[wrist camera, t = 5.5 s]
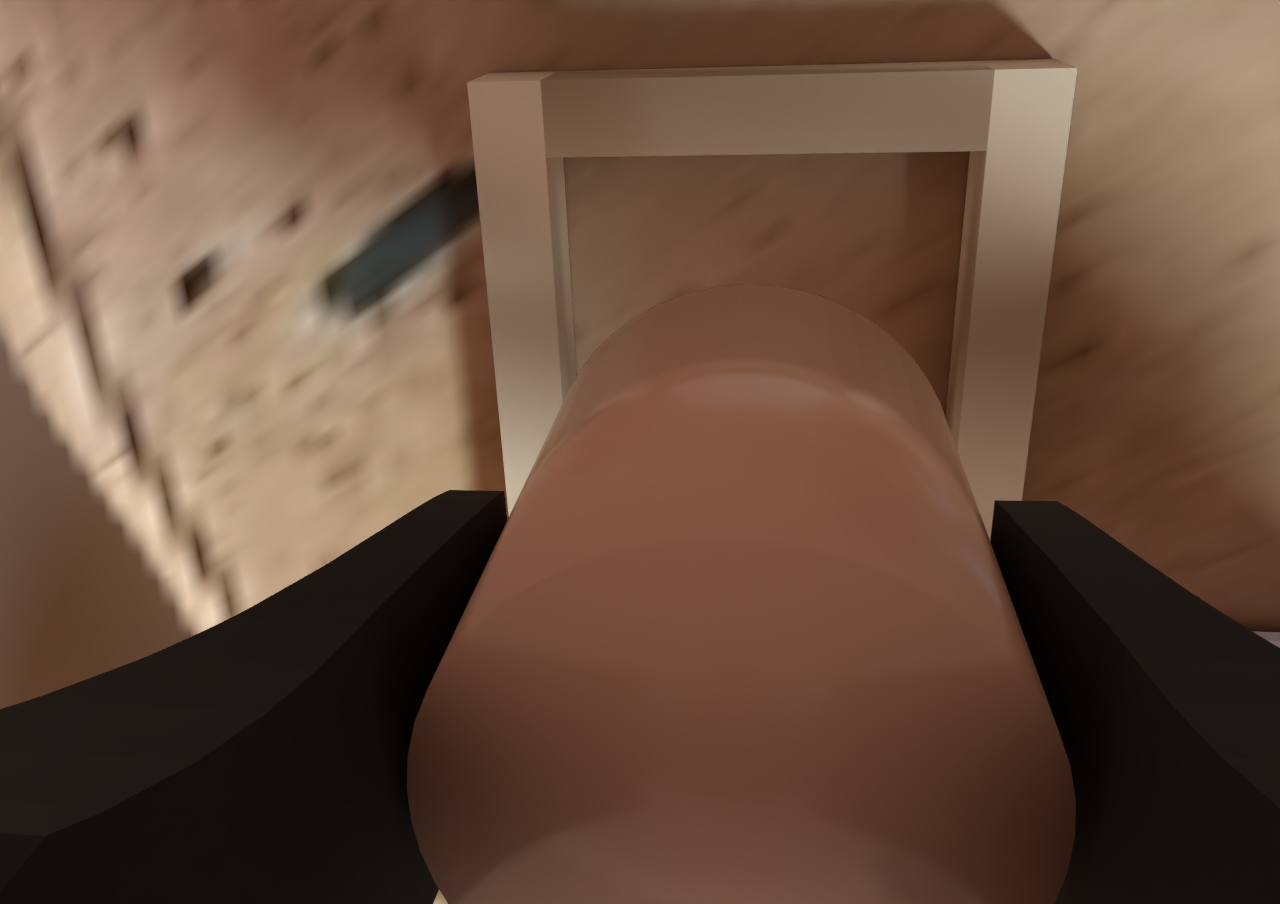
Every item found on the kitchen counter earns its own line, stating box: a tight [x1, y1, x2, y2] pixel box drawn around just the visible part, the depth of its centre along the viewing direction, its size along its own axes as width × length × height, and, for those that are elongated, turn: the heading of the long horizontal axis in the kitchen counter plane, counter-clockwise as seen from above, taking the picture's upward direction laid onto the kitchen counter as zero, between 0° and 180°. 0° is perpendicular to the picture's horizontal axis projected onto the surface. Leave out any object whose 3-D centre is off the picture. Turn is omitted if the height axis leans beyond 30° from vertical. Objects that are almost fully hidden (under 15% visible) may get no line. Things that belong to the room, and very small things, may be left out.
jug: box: [407, 285, 1076, 904], centre depth 11 cm, size 5×7×6 cm
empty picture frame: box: [467, 59, 1077, 540], centre depth 19 cm, size 9×9×2 cm
